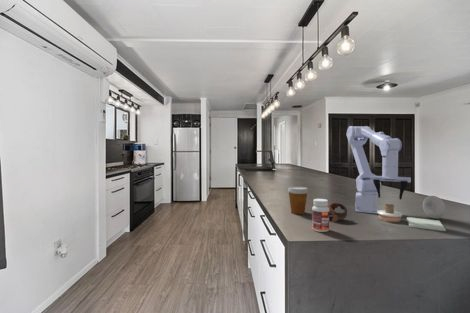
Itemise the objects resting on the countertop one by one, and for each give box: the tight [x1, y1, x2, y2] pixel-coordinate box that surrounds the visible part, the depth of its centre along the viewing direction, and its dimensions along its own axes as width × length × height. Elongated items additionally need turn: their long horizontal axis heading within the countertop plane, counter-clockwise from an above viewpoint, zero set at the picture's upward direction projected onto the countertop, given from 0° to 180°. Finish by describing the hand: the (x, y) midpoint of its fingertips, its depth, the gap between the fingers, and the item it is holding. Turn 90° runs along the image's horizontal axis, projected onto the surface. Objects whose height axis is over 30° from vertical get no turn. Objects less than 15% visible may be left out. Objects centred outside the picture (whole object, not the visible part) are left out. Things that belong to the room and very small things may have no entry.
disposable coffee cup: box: [287, 186, 309, 215], centre depth 119 cm, size 10×10×12 cm
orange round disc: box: [378, 214, 402, 223], centre depth 107 cm, size 9×9×2 cm
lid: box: [377, 203, 403, 217], centre depth 106 cm, size 9×9×4 cm
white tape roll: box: [422, 195, 446, 220], centre depth 108 cm, size 10×4×10 cm, turn 3°
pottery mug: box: [327, 202, 348, 223], centre depth 108 cm, size 12×10×8 cm
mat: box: [406, 216, 447, 232], centre depth 100 cm, size 11×13×1 cm
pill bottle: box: [311, 198, 330, 233], centre depth 93 cm, size 6×6×11 cm
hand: (389, 198), depth 106 cm, fingers open, 7 cm apart
